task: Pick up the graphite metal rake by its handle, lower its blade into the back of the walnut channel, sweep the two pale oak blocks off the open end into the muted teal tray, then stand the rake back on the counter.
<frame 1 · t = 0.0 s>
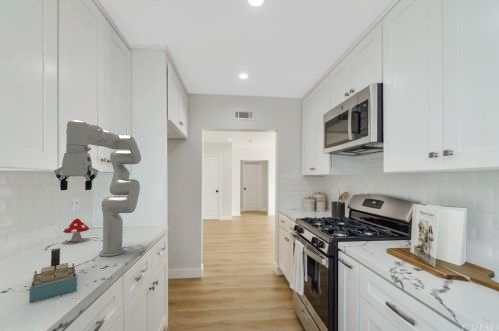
hand: (76, 190, 98), 37 cm above the worktop, tool pointing down, fingers open, 9 cm apart
oak block B: (61, 275, 95), point 2 cm above the worktop, touching walnut channel
walnut channel: (54, 280, 95), on the worktop
oak block A: (47, 278, 93), point 2 cm above the worktop, touching walnut channel
teal tray: (54, 291, 86), on the worktop
decorative mushroom: (76, 241, 152), on the worktop
rake: (55, 271, 104), on the worktop
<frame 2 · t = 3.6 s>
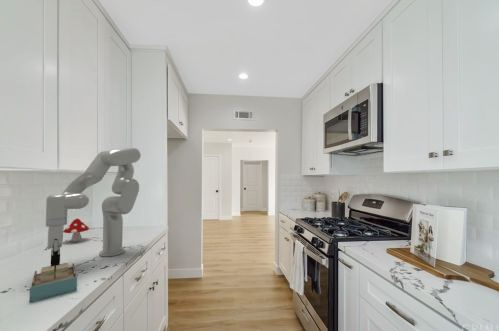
hand: (55, 262, 104), 4 cm above the worktop, tool pointing down, fingers closed on rake, 3 cm apart
rake: (54, 271, 104), on the worktop, touching gripper
everything else where it was.
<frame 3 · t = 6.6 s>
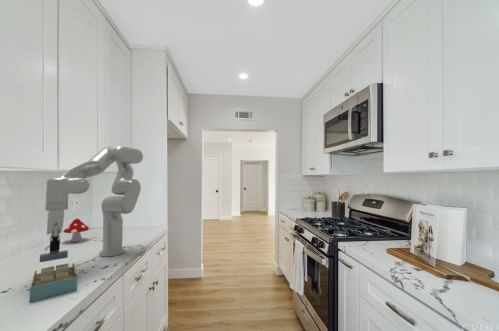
hand: (54, 249, 99), 12 cm above the worktop, tool pointing down, fingers closed on rake, 3 cm apart
rake: (54, 259, 99), point 8 cm above the worktop, touching gripper
everything else where it was.
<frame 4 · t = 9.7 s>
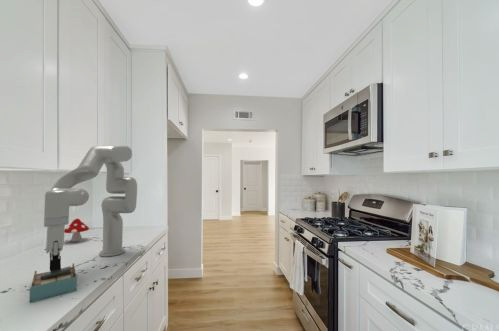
hand: (55, 267, 91), 7 cm above the worktop, tool pointing down, fingers closed on rake, 3 cm apart
oak block B: (63, 280, 90), point 2 cm above the worktop, tilted 90°, touching teal tray
oak block A: (48, 284, 87), point 2 cm above the worktop, tilted 90°, touching teal tray
rake: (56, 277, 91), point 3 cm above the worktop, touching gripper
everything else where it was.
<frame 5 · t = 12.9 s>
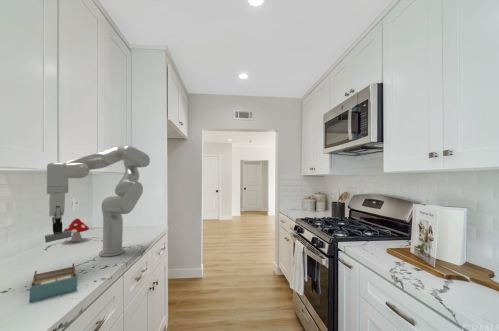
hand: (57, 230, 103), 19 cm above the worktop, tool pointing down, fingers closed on rake, 3 cm apart
rake: (58, 238, 104), point 15 cm above the worktop, tilted 6°, touching gripper
everything else where it was.
when the fingers open (6 cm above the worktop, at t = 16.0 s): rake drops 2 cm, on the worktop.
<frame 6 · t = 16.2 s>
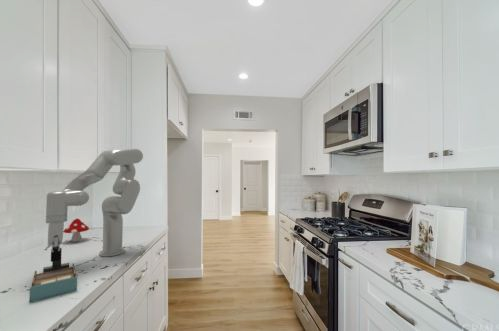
hand: (55, 258, 105), 6 cm above the worktop, tool pointing down, fingers open, 5 cm apart
rake: (56, 271, 105), on the worktop
everything else where it was.
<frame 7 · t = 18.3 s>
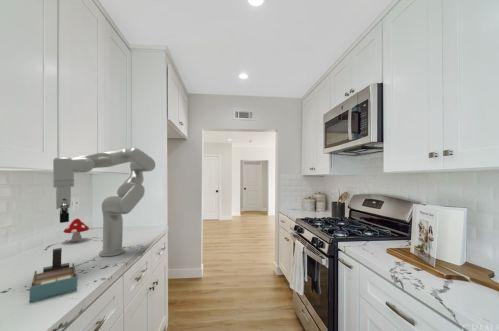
hand: (64, 220, 108), 23 cm above the worktop, tool pointing down, fingers open, 9 cm apart
nothing on the worktop moved.
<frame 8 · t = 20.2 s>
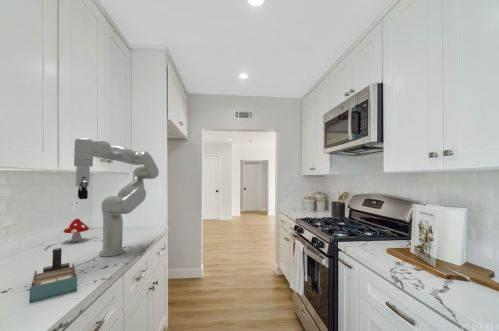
hand: (82, 198, 113), 32 cm above the worktop, tool pointing down, fingers open, 9 cm apart
nothing on the worktop moved.
at the end: oak block A inside the target area on the teal tray (2.9 cm from its centre), point 2.4 cm above the teal tray's base; oak block B inside the target area on the teal tray (3.7 cm from its centre), point 2.4 cm above the teal tray's base; rake inside the target area (0.5 cm from its centre), on the worktop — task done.
